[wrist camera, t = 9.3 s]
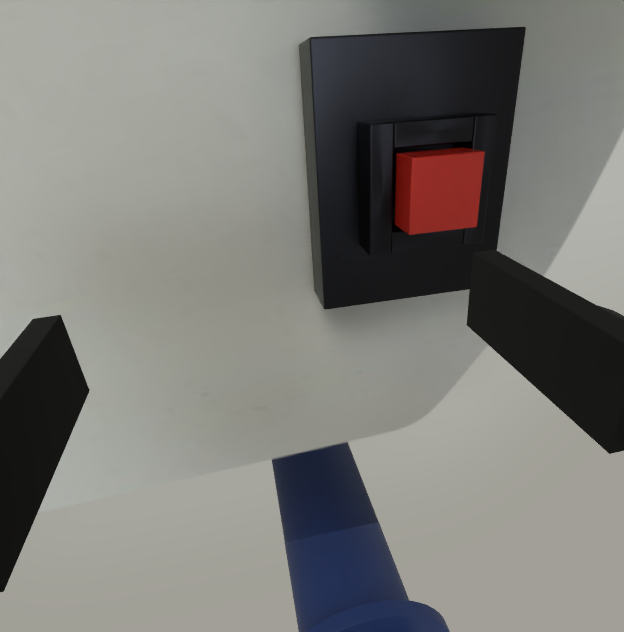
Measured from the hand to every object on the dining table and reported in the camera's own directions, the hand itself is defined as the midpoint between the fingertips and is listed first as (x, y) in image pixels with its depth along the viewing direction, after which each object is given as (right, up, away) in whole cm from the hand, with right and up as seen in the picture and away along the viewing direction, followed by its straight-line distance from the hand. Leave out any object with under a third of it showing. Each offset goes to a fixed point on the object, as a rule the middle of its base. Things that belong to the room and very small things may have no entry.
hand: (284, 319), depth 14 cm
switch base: (+6, +9, +13) cm, 17 cm away
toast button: (+7, +7, +9) cm, 13 cm away
